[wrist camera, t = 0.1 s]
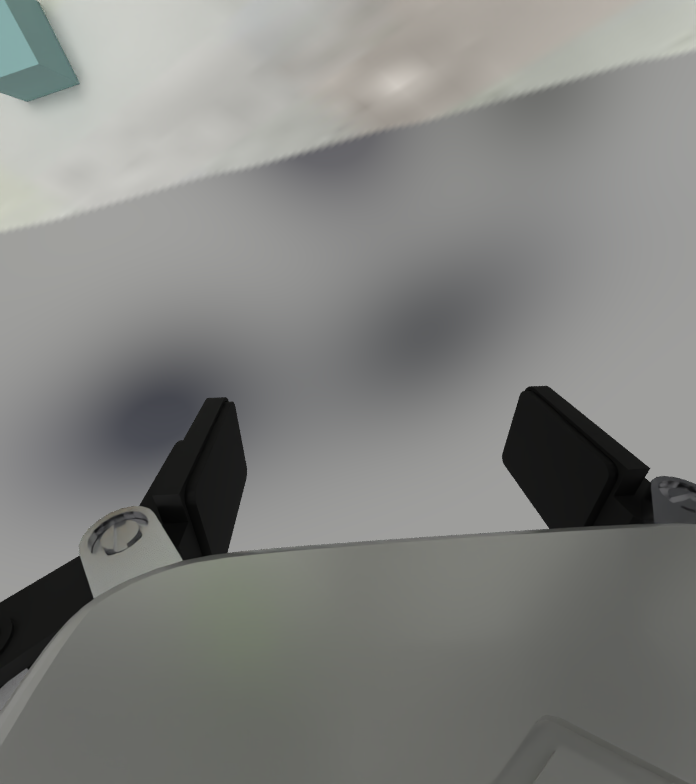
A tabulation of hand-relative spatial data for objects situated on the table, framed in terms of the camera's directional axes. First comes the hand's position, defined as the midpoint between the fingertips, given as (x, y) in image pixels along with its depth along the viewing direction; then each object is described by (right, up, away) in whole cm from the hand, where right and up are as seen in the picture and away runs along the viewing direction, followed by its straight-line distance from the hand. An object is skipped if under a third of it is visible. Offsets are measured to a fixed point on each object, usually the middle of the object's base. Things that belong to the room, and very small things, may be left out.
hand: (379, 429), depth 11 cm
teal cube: (-27, +29, +17) cm, 43 cm away
